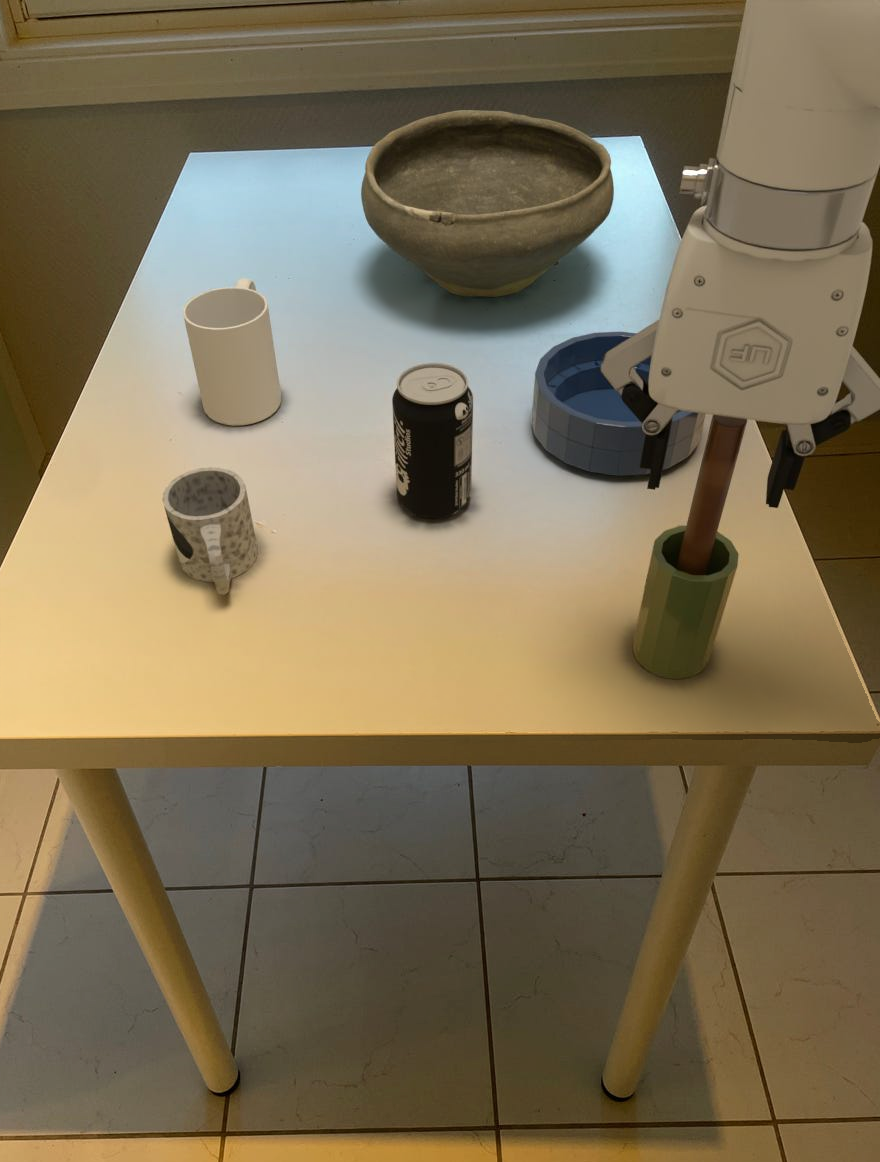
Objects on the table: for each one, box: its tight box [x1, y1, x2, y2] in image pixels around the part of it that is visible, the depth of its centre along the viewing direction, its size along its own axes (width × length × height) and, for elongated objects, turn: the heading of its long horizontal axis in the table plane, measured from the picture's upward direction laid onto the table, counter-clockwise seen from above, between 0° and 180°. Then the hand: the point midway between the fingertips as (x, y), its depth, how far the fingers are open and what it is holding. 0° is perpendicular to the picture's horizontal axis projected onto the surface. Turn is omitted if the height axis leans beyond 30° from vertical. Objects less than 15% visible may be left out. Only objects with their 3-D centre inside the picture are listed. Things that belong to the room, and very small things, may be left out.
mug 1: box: [182, 277, 282, 426], centre depth 94 cm, size 12×8×10 cm, turn 172°
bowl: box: [360, 109, 615, 298], centre depth 108 cm, size 28×28×14 cm
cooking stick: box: [676, 415, 748, 575], centre depth 65 cm, size 2×2×20 cm
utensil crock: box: [632, 525, 740, 680], centre depth 69 cm, size 6×6×10 cm
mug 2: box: [161, 466, 259, 595], centre depth 78 cm, size 10×7×7 cm, turn 13°
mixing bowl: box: [531, 331, 706, 477], centre depth 89 cm, size 16×16×6 cm
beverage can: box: [391, 362, 474, 520], centre depth 81 cm, size 7×7×12 cm
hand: (713, 483), depth 61 cm, fingers open, 6 cm apart
